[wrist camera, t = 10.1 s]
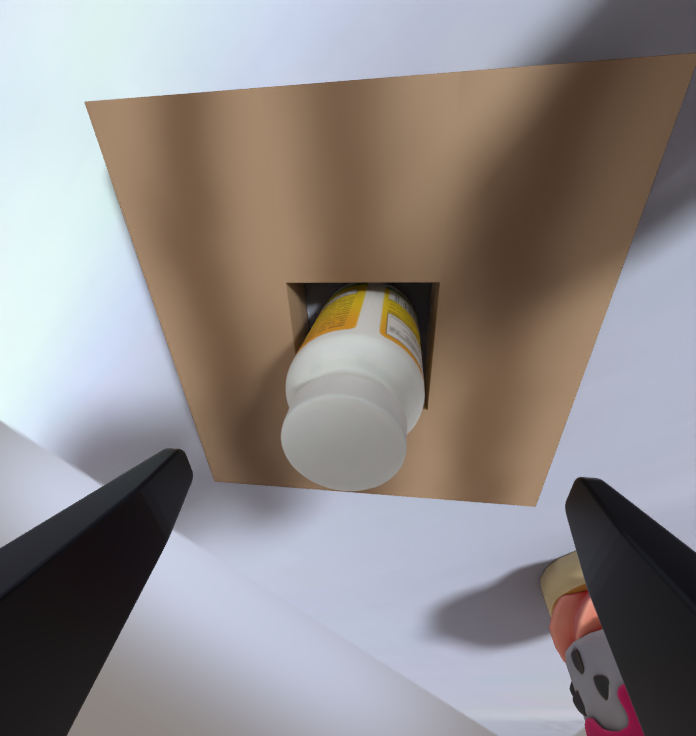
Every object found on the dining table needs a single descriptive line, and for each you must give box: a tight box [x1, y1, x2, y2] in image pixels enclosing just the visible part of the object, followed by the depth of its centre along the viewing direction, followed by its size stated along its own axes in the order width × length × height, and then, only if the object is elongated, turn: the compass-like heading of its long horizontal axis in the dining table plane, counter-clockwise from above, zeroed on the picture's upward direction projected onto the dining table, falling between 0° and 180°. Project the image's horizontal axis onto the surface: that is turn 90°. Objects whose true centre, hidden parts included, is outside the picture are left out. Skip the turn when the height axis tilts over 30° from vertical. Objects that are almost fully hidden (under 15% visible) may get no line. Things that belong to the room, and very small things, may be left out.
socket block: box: [85, 53, 696, 507], centre depth 17 cm, size 20×20×3 cm
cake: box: [540, 551, 644, 736], centre depth 21 cm, size 10×10×15 cm
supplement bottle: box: [281, 282, 425, 491], centre depth 15 cm, size 5×5×10 cm
